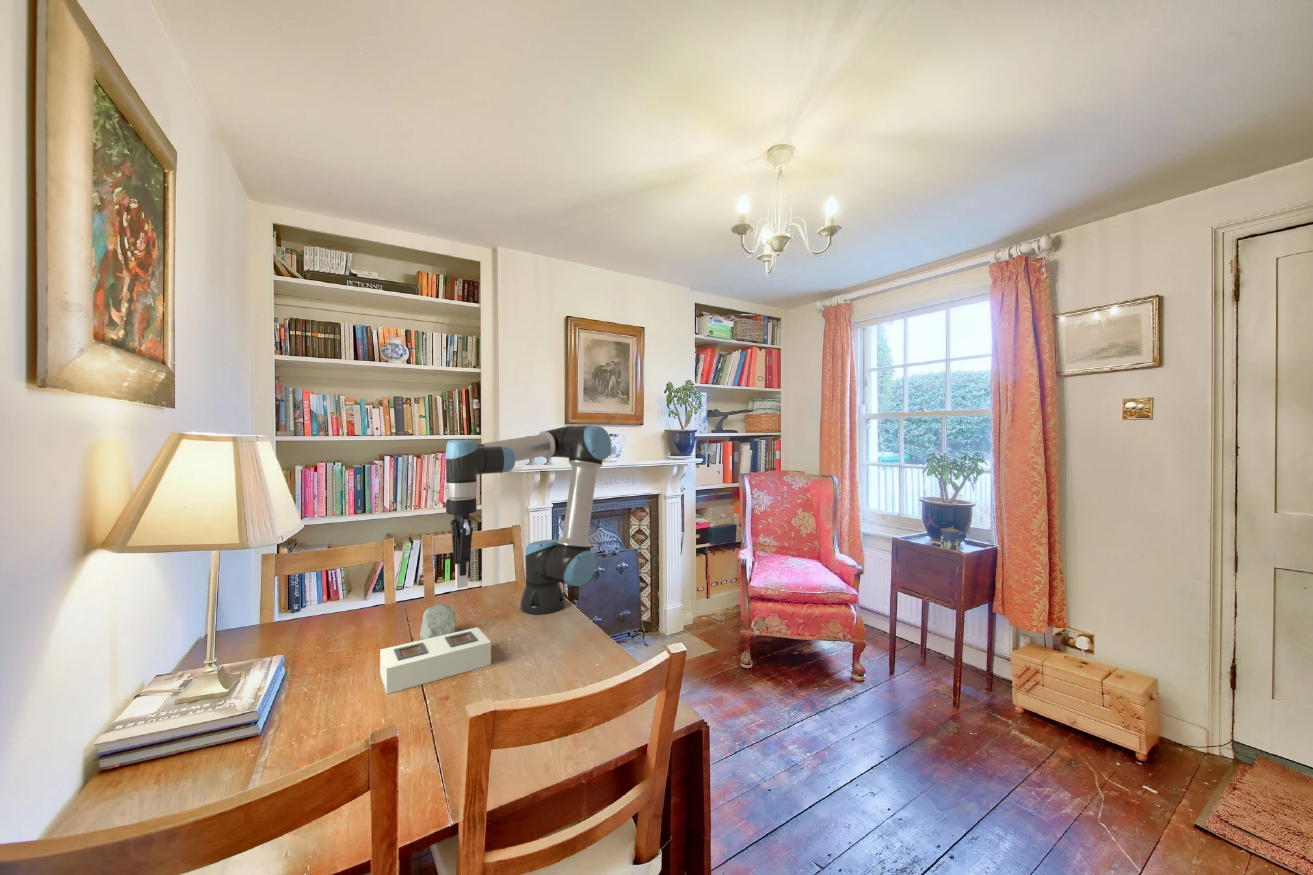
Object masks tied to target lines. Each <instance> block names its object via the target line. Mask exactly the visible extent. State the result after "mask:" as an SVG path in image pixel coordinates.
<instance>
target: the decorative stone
mask: <svg viewBox="0 0 1313 875" xmlns="http://www.w3.org/2000/svg"><path fill="white" fill-rule="evenodd" d="M455 616H456V615H455V611H454V610H453V609H452V608H451V607H450V606H449V605H446V604H444V603H438V604H435V605H434V606H430V607H428V608H427V609H425V611H424V612H423V614H422V621H421V624H420V632H419V638H420V640H424V639H428V638H433V637H437V636H441V635H446V634H450V633H454V632H456V628H457V623H456V617H455Z"/></svg>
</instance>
